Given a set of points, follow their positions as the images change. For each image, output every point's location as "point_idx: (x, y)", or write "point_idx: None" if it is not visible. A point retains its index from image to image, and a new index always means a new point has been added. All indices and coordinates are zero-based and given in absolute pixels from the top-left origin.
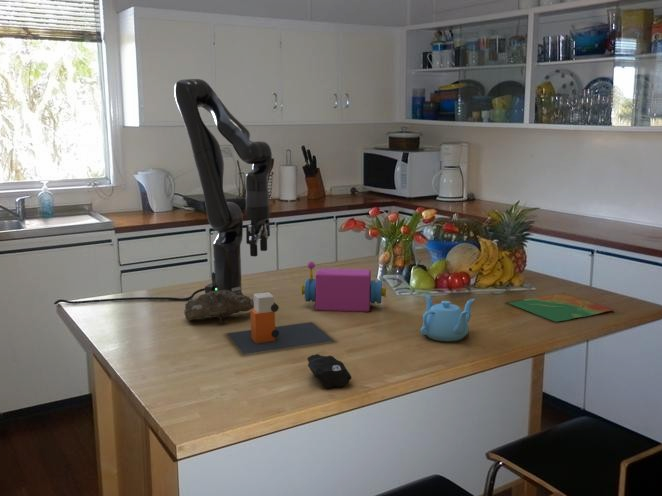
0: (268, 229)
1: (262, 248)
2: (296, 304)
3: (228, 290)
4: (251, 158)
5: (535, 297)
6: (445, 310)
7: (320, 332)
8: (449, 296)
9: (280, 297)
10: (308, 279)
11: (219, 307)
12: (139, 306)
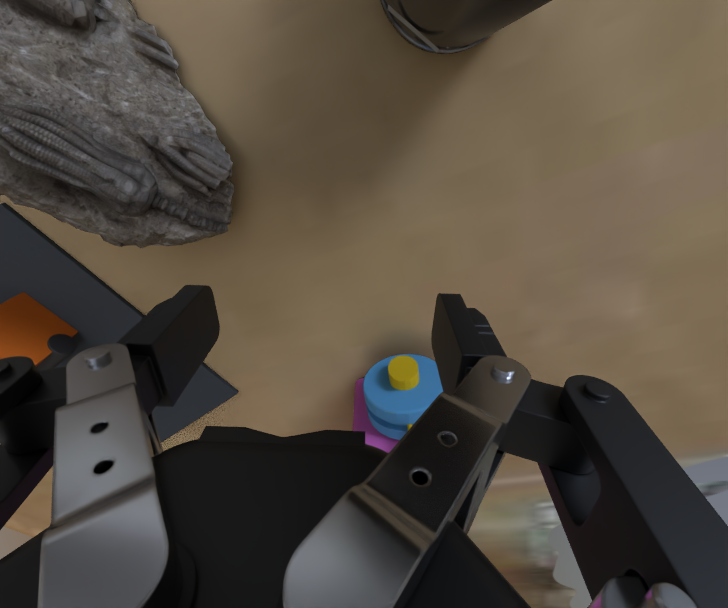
0: (577, 546)
1: (440, 319)
2: (409, 312)
3: (19, 161)
4: None
5: None
6: None
7: (173, 426)
8: (525, 568)
9: (495, 232)
10: (406, 419)
11: None
12: None
